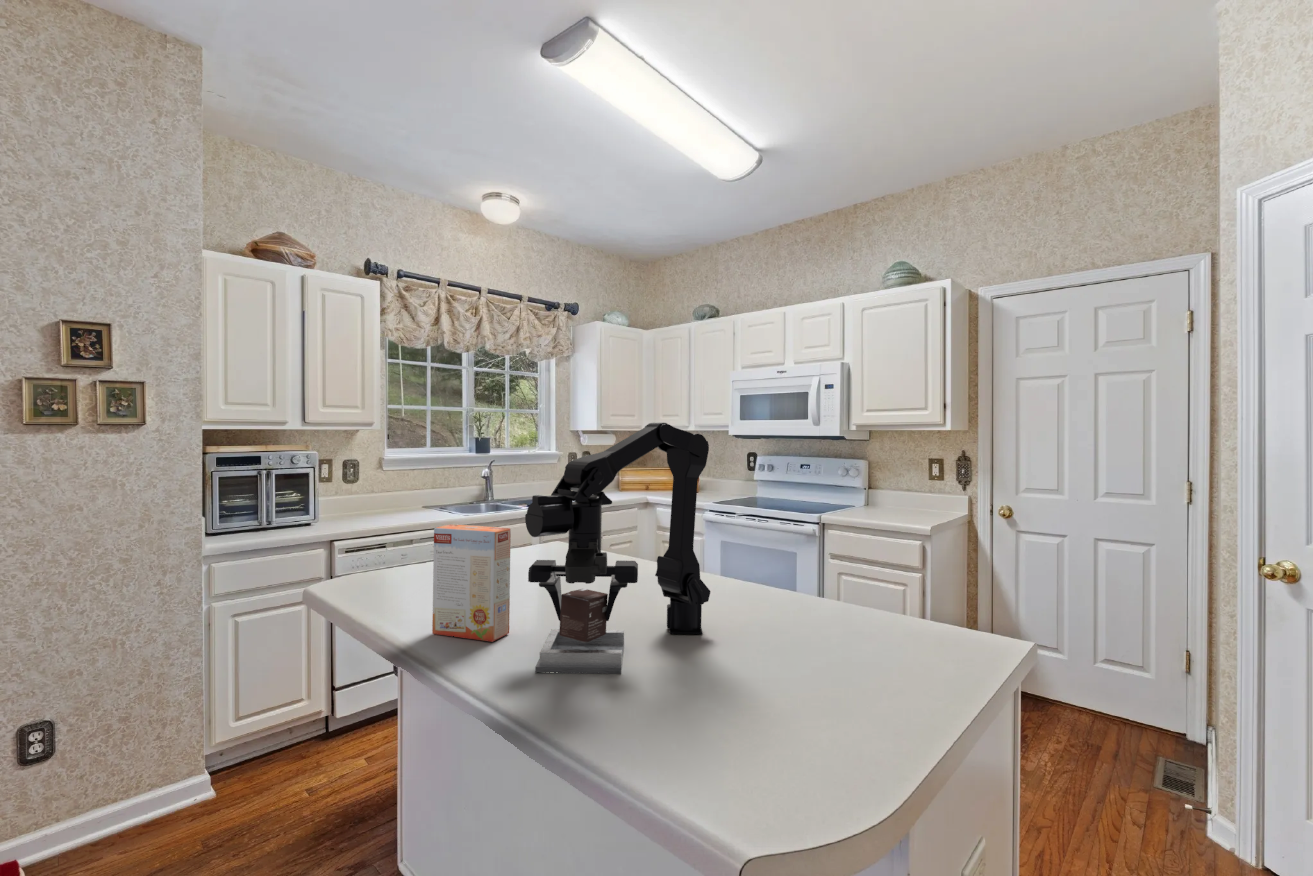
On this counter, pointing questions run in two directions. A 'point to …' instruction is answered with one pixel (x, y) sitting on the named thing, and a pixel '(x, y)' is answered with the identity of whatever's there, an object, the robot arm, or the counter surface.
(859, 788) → the counter surface
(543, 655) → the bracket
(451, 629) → the cracker box
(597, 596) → the box
